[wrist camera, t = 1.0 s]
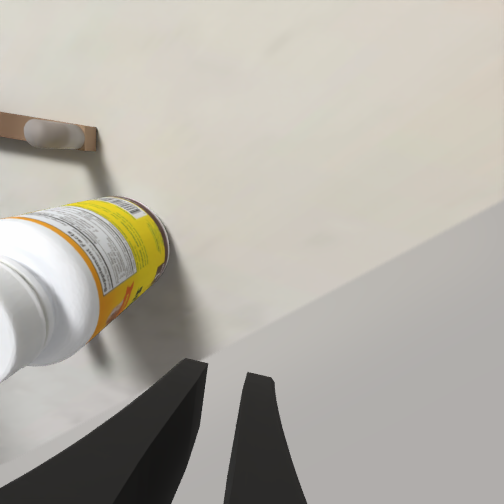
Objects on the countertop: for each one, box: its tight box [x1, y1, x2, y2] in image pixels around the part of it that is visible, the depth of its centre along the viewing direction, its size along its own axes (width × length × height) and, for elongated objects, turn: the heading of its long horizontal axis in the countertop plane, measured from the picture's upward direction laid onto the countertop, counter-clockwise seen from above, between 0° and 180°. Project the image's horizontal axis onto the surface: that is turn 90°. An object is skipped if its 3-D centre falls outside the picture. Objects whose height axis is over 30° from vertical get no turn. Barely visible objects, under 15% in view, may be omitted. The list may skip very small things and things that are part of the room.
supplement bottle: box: [0, 196, 169, 383], centre depth 14 cm, size 6×6×10 cm
